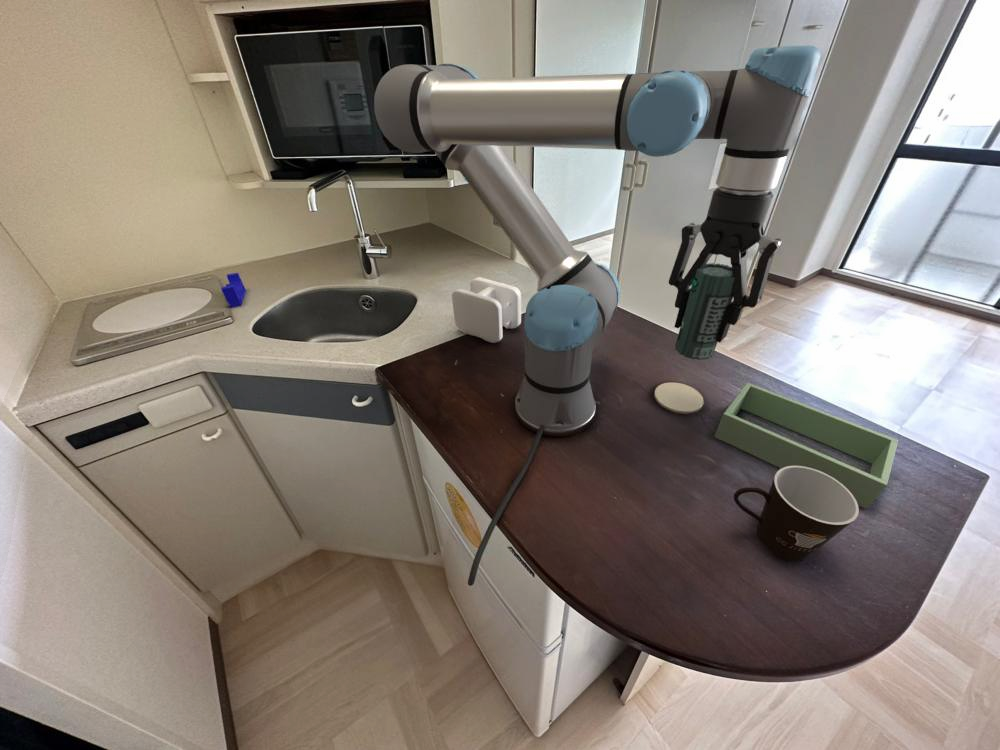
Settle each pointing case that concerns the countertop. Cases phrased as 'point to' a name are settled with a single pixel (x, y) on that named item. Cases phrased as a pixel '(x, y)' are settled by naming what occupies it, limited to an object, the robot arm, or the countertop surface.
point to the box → (815, 426)
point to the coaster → (678, 398)
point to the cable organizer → (487, 309)
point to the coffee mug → (801, 511)
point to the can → (705, 311)
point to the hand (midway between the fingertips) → (699, 331)
